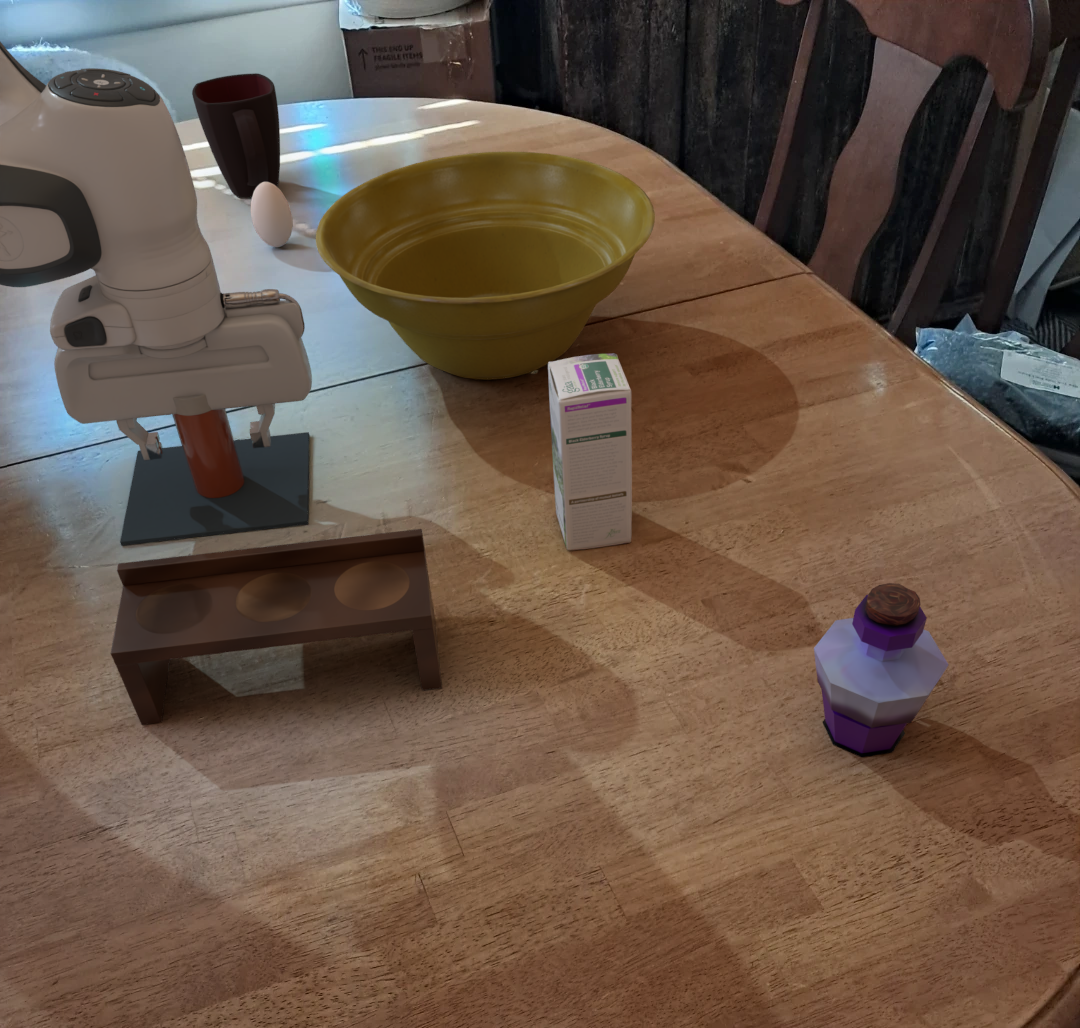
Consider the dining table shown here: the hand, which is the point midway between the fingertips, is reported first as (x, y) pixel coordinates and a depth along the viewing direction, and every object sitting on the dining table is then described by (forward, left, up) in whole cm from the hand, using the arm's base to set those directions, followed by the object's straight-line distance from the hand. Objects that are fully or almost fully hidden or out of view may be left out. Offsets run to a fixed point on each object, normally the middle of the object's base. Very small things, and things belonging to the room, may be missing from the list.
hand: (208, 450), depth 101 cm
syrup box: (+32, -12, -4) cm, 34 cm away
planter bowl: (+27, +20, -4) cm, 34 cm away
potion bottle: (+47, -38, -4) cm, 61 cm away
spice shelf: (+7, -25, -4) cm, 26 cm away
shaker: (0, 0, -4) cm, 4 cm away
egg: (+4, +49, -4) cm, 49 cm away
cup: (+1, +65, -4) cm, 65 cm away
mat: (0, 0, -4) cm, 4 cm away
